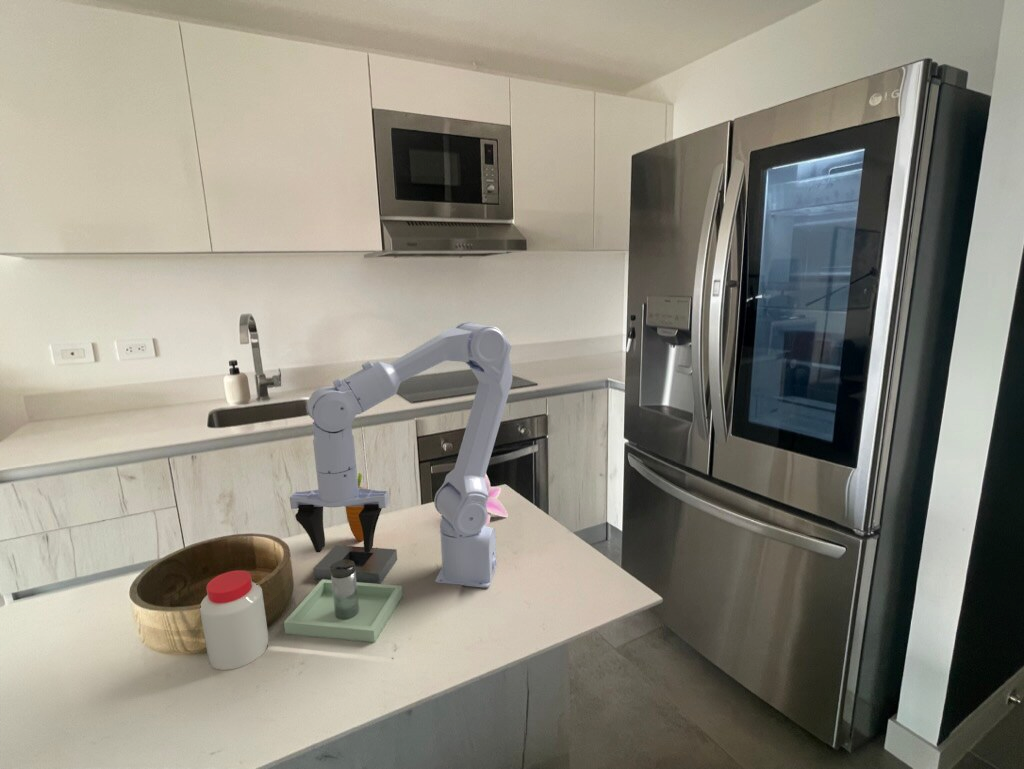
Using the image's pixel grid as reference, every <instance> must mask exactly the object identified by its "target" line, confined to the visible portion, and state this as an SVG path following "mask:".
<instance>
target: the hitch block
mask: <svg viewBox="0 0 1024 769" xmlns="http://www.w3.org/2000/svg"><path fill="white" fill-rule="evenodd" d="M397 551H398V550H397V549H396V548H381V547H372V549H371V550H370V552H365V550H364V546H355V545H354V546H352V545H339V544H338V545H337V544H335V545H334V546H333V547H332V548H331V549H330V550H329V551H328V553H326V555H324V557H323V558H321V560H320V561H319V562H318V563H317V564H316V565H315V566H314V567H313V568H312V570H313V580H314V581H321V580H322V579H324V580H331V572H330V567H331V565H332V564H333V563H335V562H337V561H340V560H352V561H354V563H355V571H356V582H361V583H373V584H383V581H385V578H386V577H387V576H388V574H389V573H390V571H391V570H392V568H393V567H394V566H395V564H396V562H397V561H398V552H397Z"/></svg>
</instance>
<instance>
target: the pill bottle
mask: <svg viewBox="0 0 1024 769" xmlns="http://www.w3.org/2000/svg"><path fill="white" fill-rule="evenodd" d="M256 584H257V583H255V582H254V581H252V575H251V572H249V571H247V570H241V569H240V570H239V569H238V570H237V569H236V570H231V571H225V573H224V572H223V573H221V574H219V575H216V576H215V577H213V578H212V579H211V580H209V582H208V583H207V584H206V593H207V595H205V596H204V598H203V599H202V601H201V603H200V605H201V608H200V607H199V612H200V617H201V618H200V619H201V624H202V630H203V636H204V642H205V648H206V655H207V662H208V664H209V665H210V666H211V668H214V669H216V670H220V671H221V670H223V671H224V670H225V671H227V670H229V671H230V670H235V669H239V668H242V667H244V666H247V665H249V664H251V663H253V662H255V661H256V660H257V659H258V658H259V657H260V658H261V656H262V655H263V654H264V652H266V651H267V648H268V647H269V645H268V643H269V641H270V640H269V632H268V625H267V616H266V610H265V602H264V595H263V589H262V587H261V585H259V584H258V585H256ZM200 605H199V606H200Z"/></svg>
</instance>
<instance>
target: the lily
mask: <svg viewBox="0 0 1024 769" xmlns="http://www.w3.org/2000/svg"><path fill="white" fill-rule="evenodd" d="M484 479H485V484H486V487H487V491H488V499H487V503H486V507H487V520H486V523H485V526H487V525H488V524H490V521H491V516H492V515H495V516H498V517H501V518H508V517H509V514H508V511H507V510H506V508H505V506H504V505H503V504H502V502H501V501H500V500H499V499H498V498H499V496H500V494H501V491H502V488H501V487H500V486H491V482H490V479H489V477H488V475H487V473H486V474H485V478H484Z"/></svg>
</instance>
